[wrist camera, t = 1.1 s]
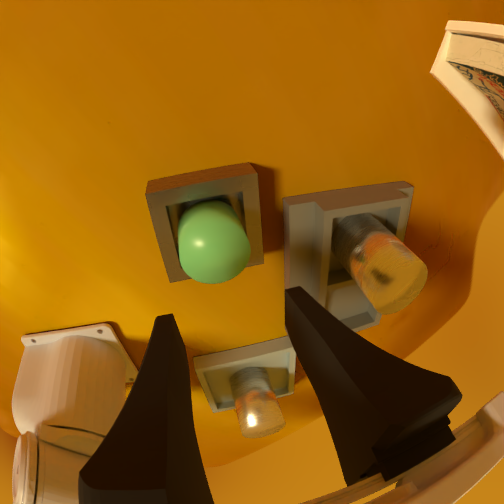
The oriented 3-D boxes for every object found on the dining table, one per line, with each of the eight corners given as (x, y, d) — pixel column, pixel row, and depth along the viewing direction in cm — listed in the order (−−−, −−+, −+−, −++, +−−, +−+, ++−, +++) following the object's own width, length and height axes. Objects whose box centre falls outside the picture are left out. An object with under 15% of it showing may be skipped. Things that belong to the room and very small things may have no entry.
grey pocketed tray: (285, 328, 26) (294, 350, 24) (282, 197, 19) (297, 216, 17) (379, 301, 28) (393, 318, 26) (404, 181, 21) (425, 194, 19)
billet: (231, 391, 30) (244, 441, 25) (226, 372, 27) (239, 426, 22) (268, 382, 30) (285, 430, 25) (267, 362, 28) (285, 415, 23)
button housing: (169, 264, 20) (170, 282, 18) (147, 181, 17) (145, 194, 15) (256, 246, 21) (264, 263, 19) (248, 162, 17) (257, 172, 16)
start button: (184, 259, 18) (187, 289, 16) (171, 206, 16) (172, 231, 14) (242, 248, 19) (253, 275, 16) (236, 194, 17) (247, 216, 14)
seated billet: (328, 264, 22) (368, 321, 17) (332, 216, 20) (381, 269, 15) (373, 253, 22) (418, 303, 18) (380, 207, 20) (434, 254, 15)
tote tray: (211, 402, 31) (213, 412, 30) (192, 357, 26) (194, 369, 25) (289, 383, 32) (293, 393, 31) (291, 334, 27) (296, 346, 26)
